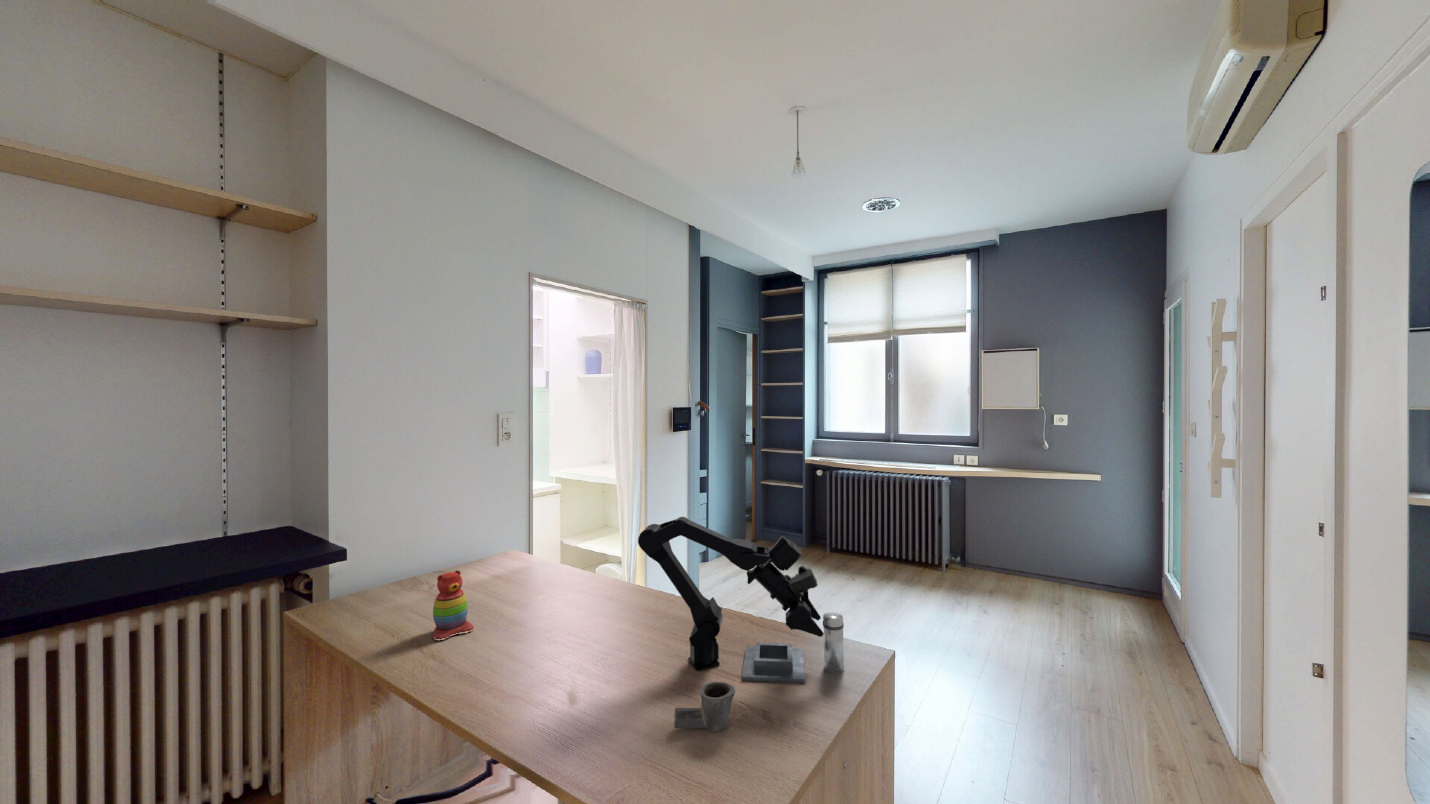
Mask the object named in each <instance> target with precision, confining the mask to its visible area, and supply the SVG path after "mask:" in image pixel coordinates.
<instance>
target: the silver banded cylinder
mask: <svg viewBox="0 0 1430 804" xmlns="http://www.w3.org/2000/svg"><path fill="white" fill-rule="evenodd" d="M822 616H823V617H822V620H823V621H822V629H823V633H824V634H823V661H824V663H823V665H824V670H825V671H826V672H828V673H832V674H840V673H843V672H844V671H845V662H844V661H845V660H844V659H845V657H844V656H845V655H844V652H845V651H844V646H845V645H844V617H843V616H844V615H842V614H841V613H838V612H824V614H822Z"/></svg>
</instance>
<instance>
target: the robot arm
mask: <svg viewBox="0 0 1430 804" xmlns="http://www.w3.org/2000/svg"><path fill="white" fill-rule="evenodd" d="M680 536H681V537H684V538H685V539H687V540H689V541H692V542H694V543H697V544H698V545H700V546H703V547H706V548H708V549H710V550H713V551H715V552H717V553H719V554H721V555H722V556H724V557H725V558H726V559H728V560H729V562H730V563H732V564H733V565H734V566H736V567H738V568H740V569H741V570H742V571H746V576H747V581H746V582H747V584H748V585H751V583H752V582H753V581H754V580H756V581H757V582H758V583H759V584H760V586H762V587H763V588H764V589H765V590H766V591H767V593H769V594H770V595H769V596H770V598H771V599H772V600H776V601H777V602H778V603H779V604H780V605H781V606H782V607H781V608H782V610H783V611H784V612H785V625H786V626H787V627H788V628H789V629H790V630H791V631H792V630H794V631H795V630H798V631H801V632H805V633H807V634H811V635H814V636H817V637H820V638H822V637H824V631H823V630H822V629H821V627H819V625H818V624H817V622H816V621H820V620H821V618H822V617H821V615H820V614H819V613H818V610H817V609H816V607H815V606H814V605H813V603H812V601H811V600H810V598H809V590H811V589H814V588H817V587H818V581H817V578H816V576H815V574H814V571H813V570H812V569H811V568H807V567H806V566H804V565H801V566H799V567H798V572H797V573H798V574H797V573H796V574H795V576H792V577H791V576H790V575H789V574H785V575H784V573H783V572H784V571H789V569H791V567H793V565H794V564H795V563H796V562H797V561H799V559H800V558H801V557H802V556H804V554H803V552H802V550H801V548H799V546H798V545H797V544H796V543H795V542H794V541H792V540H790V539H788V538H787V537H785V536H784V535H781V536H780V537H779V539H778V540H777V541H776V543H774V544H773V546H772V547H768V546H762V545H757V544H755V543H754V542H753V541H750V540H745V539H741V538H734V537H733V538H732V537H729V536H726V535H723V534H721V533H719V532H717V531H715V530H713V529H710V528H708V527H706V526H704V525H701V524H699V523H696V522H694V521H692V520H690V519H688V518H687V517H686V516H679V517H678V518H676V519H672V520H670V521H665V522H663V523H661V524H658V523H651V524H649V525H647V526H646V527H645V528H644V529H643V530H642V531H641V532H640V534H639V536H638V539H637V540H638V541H637V545H638V546H639V548H640V549H641V550H642V552H644V553H645V554H646V555H647V557H648V558H651V559H652V560H653V561H655V562H657V563H658V565H659V566H660V568H661V569H662V570H663V572H664V573H665V574H666V576H667V578H668V579H669V581H670V582H671V584H673V586H674V588H675V589H676V590H677V592H678V594H679V595H680V596H681V598H682V599H683V601H684V602H685V603H686V605H687V606H688V608H689V610H690V611H689V612H690V614H691V617H692V620H693V623H694V625H693V628H692V630H691V632H690V635H689V639H688V640H689V654H690V655H689V657H688V658H687V659H688V662H689V663H690V665H692V667H693V669H694V670H695V671H696V672H697V671H701V670H706V669H709V668H710V669H711V668H714V667H719V666H720V664H721V663H720V661H718V660H719V658H720V653H719V643H718V641H717V637H718V635H719V633H720V632H721V631H720V630H721V627H722V624H723V619H724V618H723V617H724V616H723V612H722V611H723V608H722V607H721V606H720V605H718V603H717V601H716V599H715V597H711V598H710V599H708V598H706V596H704V595H703V593H701V591H700V590H699V588H698V587H697V585H696V584H695V582H694V581H693V579H692V577H690V575H689V574H688V572H687V571H686V570H685V568H684V567H683V565H682V563H681V562H680V560H679V559H678V558H677V556H676V555H675V553H674V552H673V550H672V547H671V542H670V541H671V540H673V539H675V538H677V537H680ZM781 571H782V572H781Z"/></svg>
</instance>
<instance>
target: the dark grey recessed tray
mask: <svg viewBox="0 0 1430 804" xmlns="http://www.w3.org/2000/svg"><path fill="white" fill-rule="evenodd" d="M804 662H805V661H804V651H803V648H802V647H801V648H800V647H799V648H797V647H796V648H795V647H793V644H792V643H784V642H783V643H781V642H777V643H776V642H755V646H746V647H745V653H744V661H743V666H742V673H741V674H742V675H741V681H750V682H751V681H752V682H768V683H771V682H773V683H789V684H790V683H795V684H805V683H806V675H805V663H804Z"/></svg>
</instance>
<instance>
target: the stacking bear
mask: <svg viewBox="0 0 1430 804" xmlns="http://www.w3.org/2000/svg"><path fill="white" fill-rule="evenodd" d="M436 578H437V580H436V581H437V583H436V585H437V590H438V591H439V593H437V595H436V598H434V603H433V608H432V618H433V621H434V624H435V628H434V630H433V632H432V638H433V637H435V639H442V638H446V637H449V636H450V635H452V634H456V633H460V632H465V631H470V630H472V629H473V628H474V625H473V623H471V622H470V621H468V620H467V616H468V612H469V611H468V607H469V605H468V601H467V598H466V597H467V596H466V594H465V592H464V590H463V589H462V586H463V578H462V576H461V571H460V570H455V571H454V572H453V571H452V572H451V571H449V572H445V573H443V574H440V575H438V576H437V577H436Z"/></svg>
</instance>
